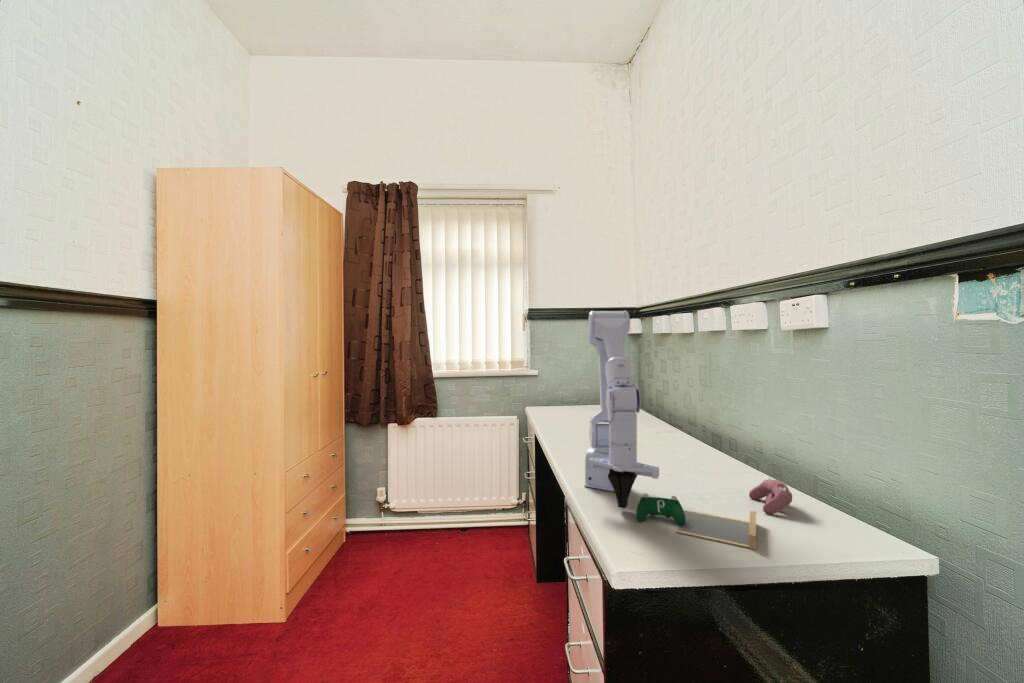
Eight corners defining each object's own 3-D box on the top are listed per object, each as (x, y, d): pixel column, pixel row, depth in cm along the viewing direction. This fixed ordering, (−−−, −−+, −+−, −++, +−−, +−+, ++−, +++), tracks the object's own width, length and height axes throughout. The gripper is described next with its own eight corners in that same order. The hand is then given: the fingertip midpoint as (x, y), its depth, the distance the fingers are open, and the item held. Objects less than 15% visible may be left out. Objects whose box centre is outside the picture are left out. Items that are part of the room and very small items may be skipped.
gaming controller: (685, 531, 83) (683, 502, 87) (685, 523, 81) (683, 493, 85) (636, 526, 86) (637, 498, 90) (635, 518, 84) (636, 489, 88)
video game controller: (784, 523, 87) (801, 494, 86) (762, 512, 88) (779, 483, 87) (765, 505, 97) (780, 479, 96) (745, 495, 98) (760, 469, 97)
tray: (676, 532, 79) (676, 519, 79) (685, 510, 90) (685, 499, 90) (755, 549, 73) (755, 536, 73) (755, 523, 83) (755, 511, 83)
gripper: (583, 442, 90) (583, 505, 90) (654, 451, 82) (654, 520, 82) (594, 435, 96) (594, 495, 96) (661, 443, 89) (661, 508, 89)
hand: (622, 506), depth 90 cm, fingers closed
